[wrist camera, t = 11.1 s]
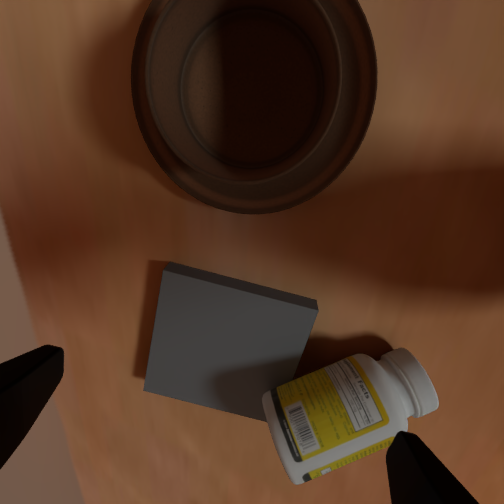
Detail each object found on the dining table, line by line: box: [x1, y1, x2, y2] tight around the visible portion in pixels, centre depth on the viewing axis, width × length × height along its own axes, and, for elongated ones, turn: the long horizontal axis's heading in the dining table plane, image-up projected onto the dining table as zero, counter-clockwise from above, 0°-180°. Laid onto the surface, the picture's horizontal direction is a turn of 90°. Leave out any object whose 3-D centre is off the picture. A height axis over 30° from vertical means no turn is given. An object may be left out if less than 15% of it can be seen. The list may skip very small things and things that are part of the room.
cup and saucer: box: [131, 0, 377, 214], centre depth 15 cm, size 12×12×6 cm
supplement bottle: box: [262, 348, 439, 485], centre depth 21 cm, size 5×5×10 cm
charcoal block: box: [143, 262, 319, 422], centre depth 23 cm, size 10×10×2 cm
